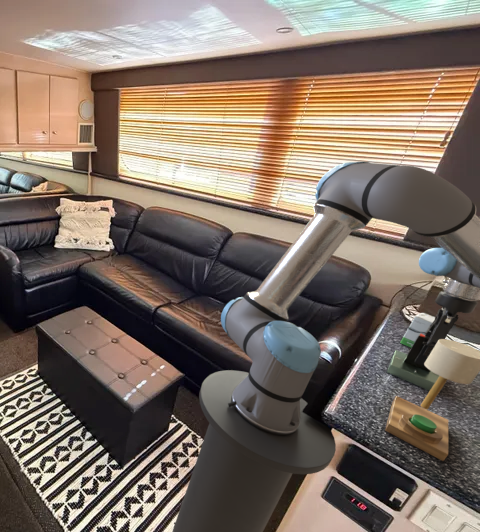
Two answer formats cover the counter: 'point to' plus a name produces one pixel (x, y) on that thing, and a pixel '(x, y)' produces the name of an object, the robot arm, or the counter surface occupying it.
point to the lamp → (451, 366)
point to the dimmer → (411, 372)
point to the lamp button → (423, 423)
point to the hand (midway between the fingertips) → (422, 357)
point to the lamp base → (408, 432)
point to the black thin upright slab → (417, 352)
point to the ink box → (417, 328)
